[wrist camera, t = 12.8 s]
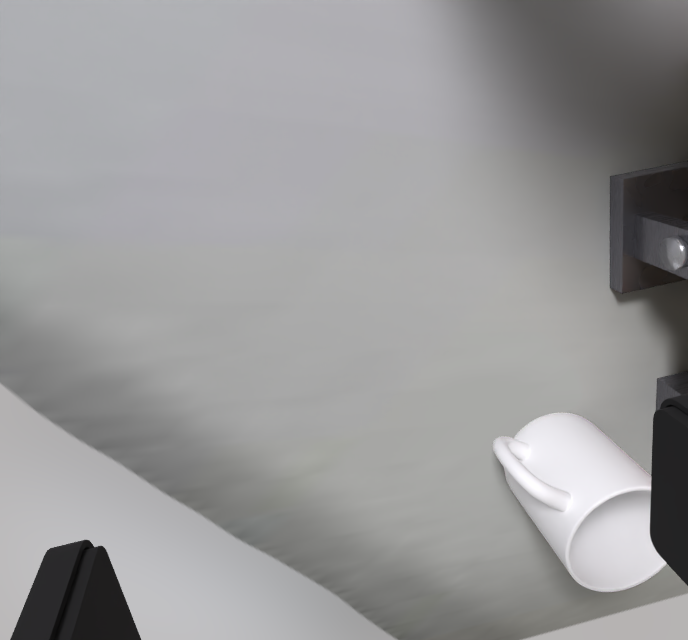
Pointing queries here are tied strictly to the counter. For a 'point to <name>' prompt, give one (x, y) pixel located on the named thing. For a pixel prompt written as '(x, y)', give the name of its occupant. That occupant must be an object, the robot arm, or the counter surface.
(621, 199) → the beam stand
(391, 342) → the counter surface
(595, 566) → the cup
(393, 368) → the counter surface
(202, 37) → the counter surface
